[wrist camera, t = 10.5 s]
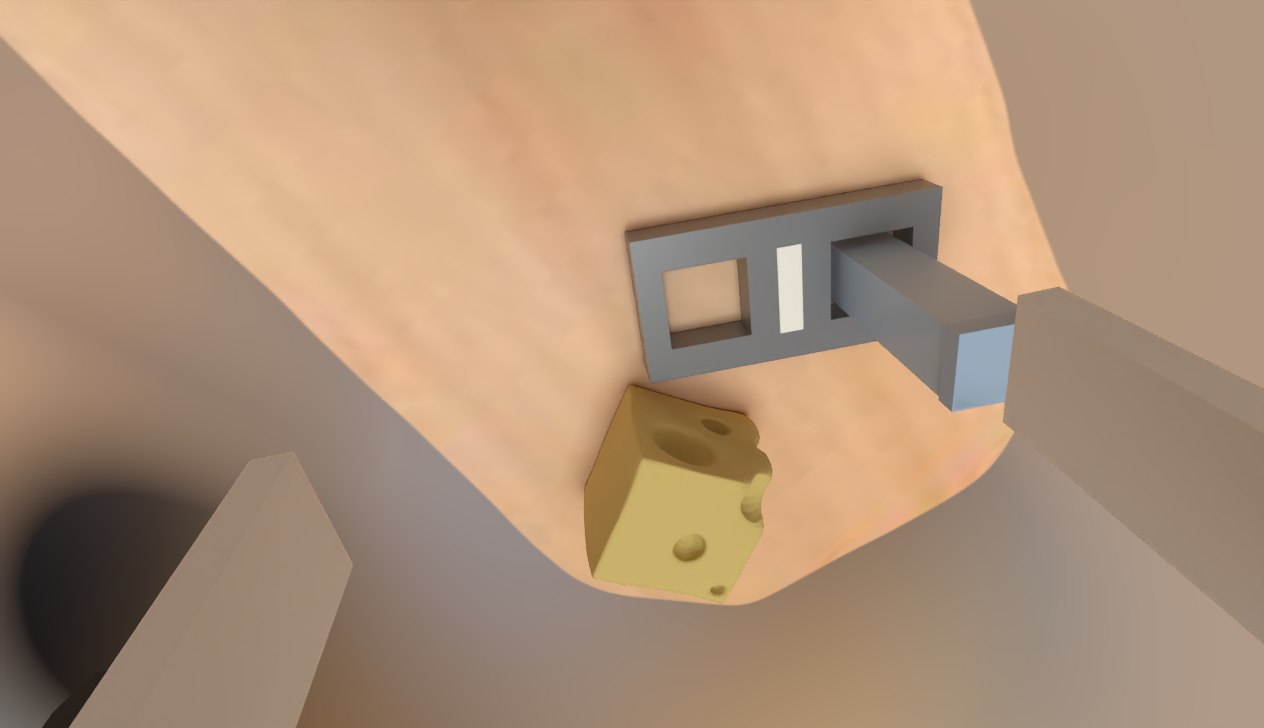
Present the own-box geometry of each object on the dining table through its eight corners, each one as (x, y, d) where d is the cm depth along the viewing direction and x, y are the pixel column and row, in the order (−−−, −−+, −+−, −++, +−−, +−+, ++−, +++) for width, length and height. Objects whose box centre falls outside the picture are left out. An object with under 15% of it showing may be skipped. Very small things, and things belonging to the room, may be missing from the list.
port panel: (624, 232, 42) (629, 243, 39) (921, 179, 43) (943, 187, 40) (645, 367, 46) (650, 384, 44) (913, 317, 47) (932, 331, 45)
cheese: (749, 411, 49) (794, 492, 40) (694, 519, 53) (724, 614, 44) (622, 376, 47) (641, 454, 38) (574, 492, 51) (581, 587, 42)
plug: (824, 239, 44) (959, 334, 30) (884, 228, 44) (1047, 317, 30) (825, 296, 46) (952, 412, 31) (882, 286, 46) (1034, 396, 32)
